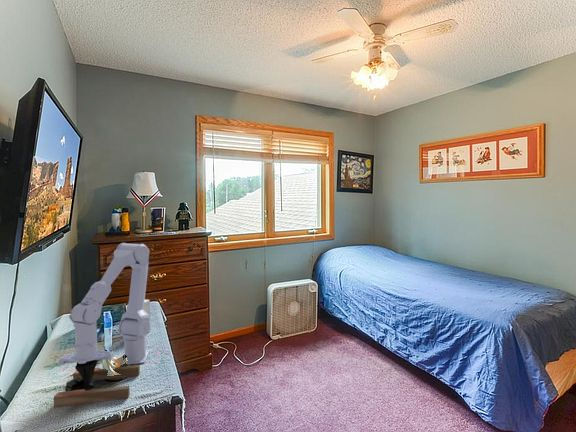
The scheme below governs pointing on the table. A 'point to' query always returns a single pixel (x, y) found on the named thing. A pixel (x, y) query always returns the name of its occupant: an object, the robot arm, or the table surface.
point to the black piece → (77, 385)
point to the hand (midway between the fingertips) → (88, 382)
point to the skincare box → (146, 309)
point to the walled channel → (98, 394)
